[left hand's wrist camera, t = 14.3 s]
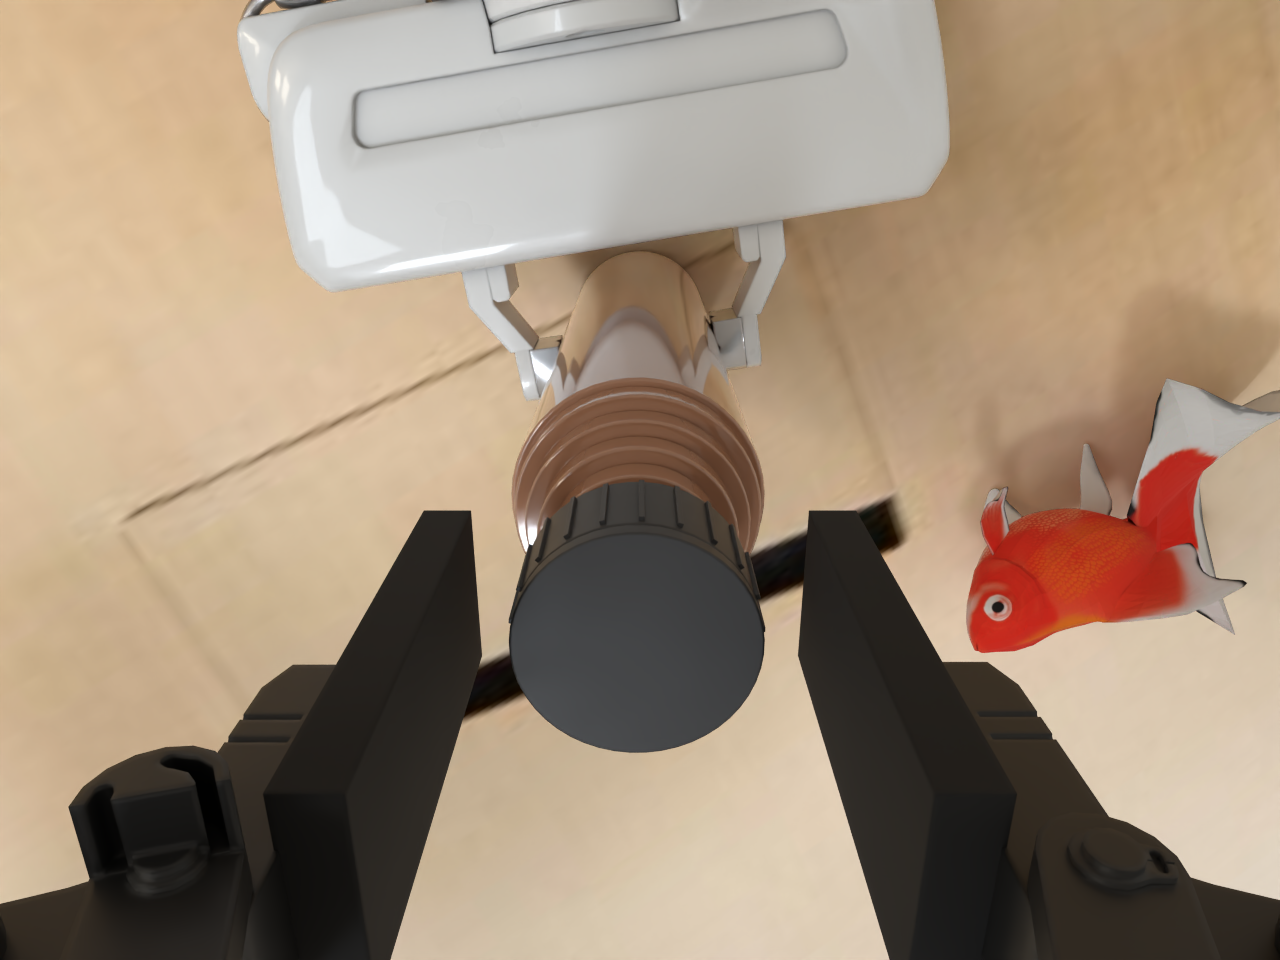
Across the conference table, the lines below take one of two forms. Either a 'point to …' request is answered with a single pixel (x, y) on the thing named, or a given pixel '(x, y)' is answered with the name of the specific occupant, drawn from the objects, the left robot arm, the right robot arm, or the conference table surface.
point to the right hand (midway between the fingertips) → (644, 379)
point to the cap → (636, 619)
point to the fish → (1114, 536)
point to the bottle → (638, 402)
